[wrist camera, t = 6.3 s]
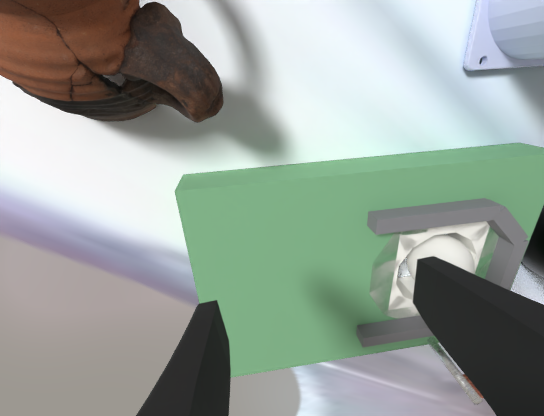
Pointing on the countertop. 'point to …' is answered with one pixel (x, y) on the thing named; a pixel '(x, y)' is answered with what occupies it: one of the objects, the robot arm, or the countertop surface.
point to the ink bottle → (536, 248)
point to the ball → (441, 253)
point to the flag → (457, 373)
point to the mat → (348, 245)
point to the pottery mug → (105, 58)
